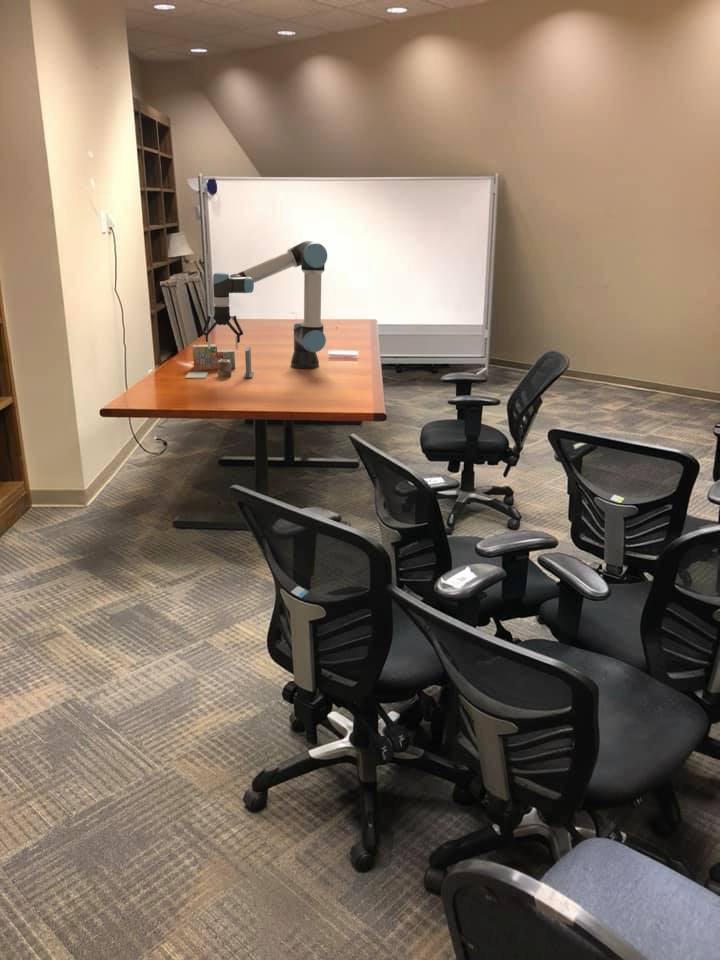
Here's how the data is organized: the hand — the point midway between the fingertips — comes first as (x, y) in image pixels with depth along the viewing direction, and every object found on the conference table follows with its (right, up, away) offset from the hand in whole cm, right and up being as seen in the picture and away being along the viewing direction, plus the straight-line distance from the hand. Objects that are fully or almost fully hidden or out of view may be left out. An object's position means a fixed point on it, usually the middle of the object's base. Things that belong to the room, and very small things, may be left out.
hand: (223, 348), depth 380 cm
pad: (-14, -13, +4) cm, 19 cm away
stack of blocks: (-9, -7, +22) cm, 25 cm away
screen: (+12, -13, +6) cm, 18 cm away
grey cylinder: (0, -13, +5) cm, 14 cm away
